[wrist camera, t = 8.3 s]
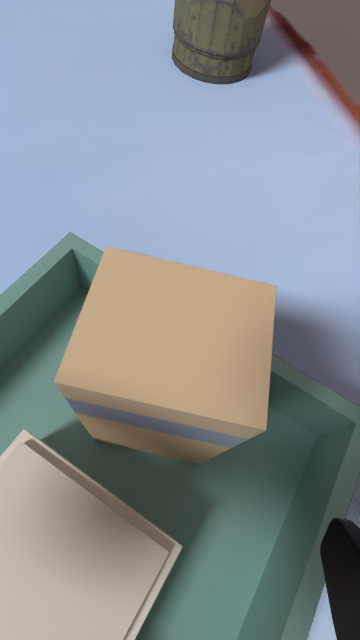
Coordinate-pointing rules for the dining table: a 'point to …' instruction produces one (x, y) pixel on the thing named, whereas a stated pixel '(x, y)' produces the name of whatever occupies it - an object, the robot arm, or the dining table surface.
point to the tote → (194, 473)
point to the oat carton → (170, 357)
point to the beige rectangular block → (72, 551)
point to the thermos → (217, 37)
